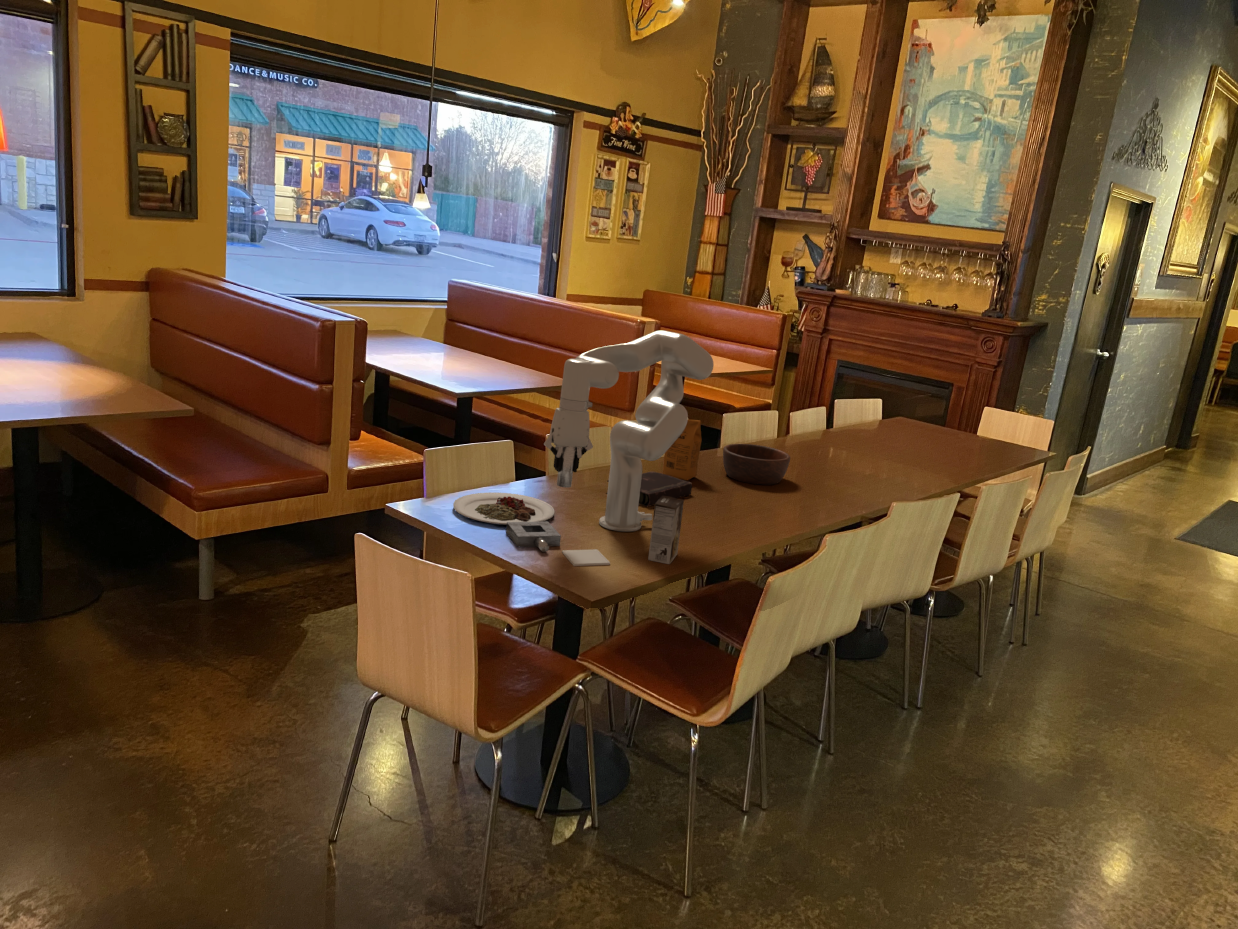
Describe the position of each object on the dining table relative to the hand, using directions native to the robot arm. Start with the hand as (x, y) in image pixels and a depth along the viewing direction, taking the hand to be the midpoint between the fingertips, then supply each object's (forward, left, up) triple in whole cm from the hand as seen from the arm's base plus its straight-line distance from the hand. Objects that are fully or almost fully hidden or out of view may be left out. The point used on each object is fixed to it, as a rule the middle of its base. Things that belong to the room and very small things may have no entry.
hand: (565, 470), depth 258 cm
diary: (-45, -42, -21) cm, 65 cm away
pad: (-2, +16, -20) cm, 25 cm away
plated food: (+10, -24, -20) cm, 33 cm away
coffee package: (-66, -63, -20) cm, 94 cm away
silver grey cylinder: (0, 0, -4) cm, 4 cm away
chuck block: (+8, +2, -20) cm, 21 cm away
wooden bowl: (-96, -61, -20) cm, 116 cm away
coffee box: (-24, +17, -20) cm, 36 cm away
